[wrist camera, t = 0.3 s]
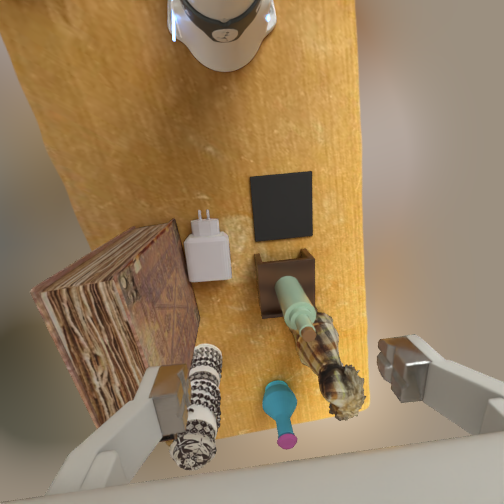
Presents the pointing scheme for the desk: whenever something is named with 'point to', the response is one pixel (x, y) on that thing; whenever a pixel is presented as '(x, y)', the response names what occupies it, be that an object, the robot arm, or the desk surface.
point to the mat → (282, 205)
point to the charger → (207, 251)
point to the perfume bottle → (281, 411)
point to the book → (121, 315)
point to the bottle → (296, 307)
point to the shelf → (277, 269)
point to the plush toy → (331, 369)
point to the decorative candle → (200, 411)
